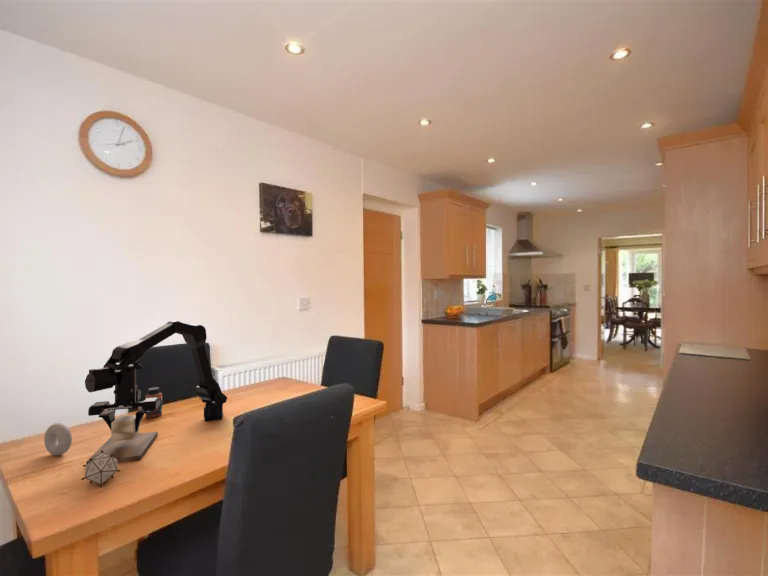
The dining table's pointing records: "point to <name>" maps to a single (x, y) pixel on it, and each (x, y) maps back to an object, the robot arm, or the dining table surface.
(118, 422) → the maple cube
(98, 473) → the game die
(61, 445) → the donut
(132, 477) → the dining table surface
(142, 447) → the walnut board
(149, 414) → the supplement bottle
